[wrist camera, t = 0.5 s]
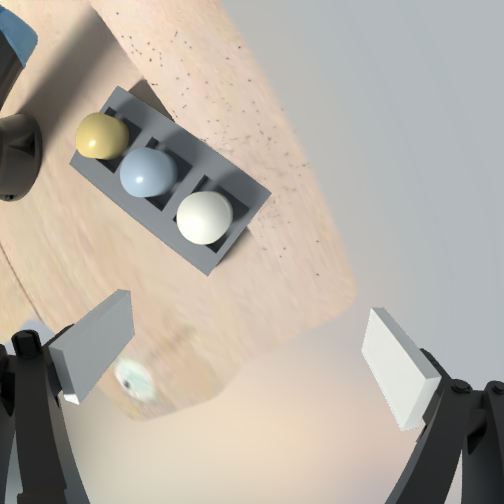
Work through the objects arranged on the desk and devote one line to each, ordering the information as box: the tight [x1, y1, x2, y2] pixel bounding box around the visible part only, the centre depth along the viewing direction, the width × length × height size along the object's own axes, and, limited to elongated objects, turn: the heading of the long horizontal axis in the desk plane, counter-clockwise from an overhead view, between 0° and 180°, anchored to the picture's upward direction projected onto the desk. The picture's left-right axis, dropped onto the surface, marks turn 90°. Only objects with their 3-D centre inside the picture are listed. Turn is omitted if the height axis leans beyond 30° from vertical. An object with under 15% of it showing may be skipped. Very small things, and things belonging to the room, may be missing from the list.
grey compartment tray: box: [69, 86, 272, 276], centre depth 33 cm, size 24×12×3 cm, turn 52°
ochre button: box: [75, 113, 129, 160], centre depth 29 cm, size 5×5×4 cm
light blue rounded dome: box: [120, 147, 178, 197], centre depth 30 cm, size 5×5×4 cm
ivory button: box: [177, 191, 233, 245], centre depth 31 cm, size 5×5×4 cm
